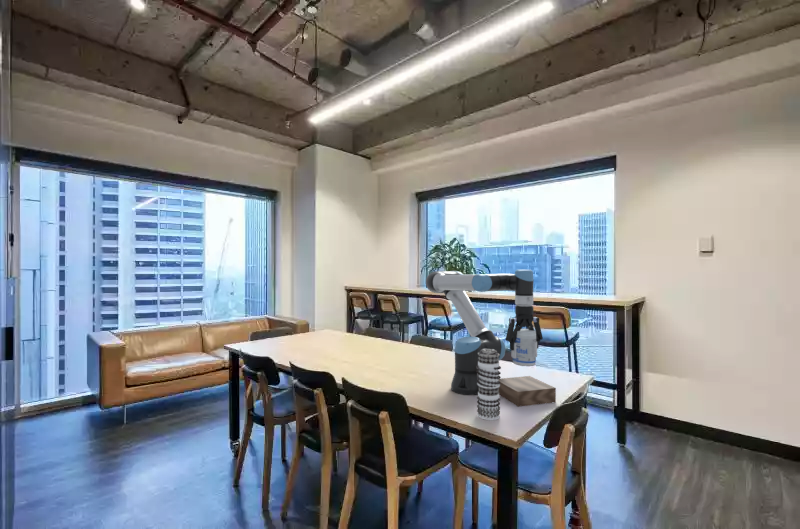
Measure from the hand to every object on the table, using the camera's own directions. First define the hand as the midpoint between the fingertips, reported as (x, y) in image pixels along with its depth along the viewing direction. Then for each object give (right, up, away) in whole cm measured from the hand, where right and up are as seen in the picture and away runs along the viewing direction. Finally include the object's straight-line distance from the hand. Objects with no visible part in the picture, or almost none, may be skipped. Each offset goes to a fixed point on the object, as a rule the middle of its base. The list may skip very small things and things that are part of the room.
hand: (524, 356), depth 166 cm
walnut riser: (0, -18, 0) cm, 18 cm away
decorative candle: (-20, -18, -20) cm, 34 cm away
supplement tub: (0, -3, 0) cm, 3 cm away
